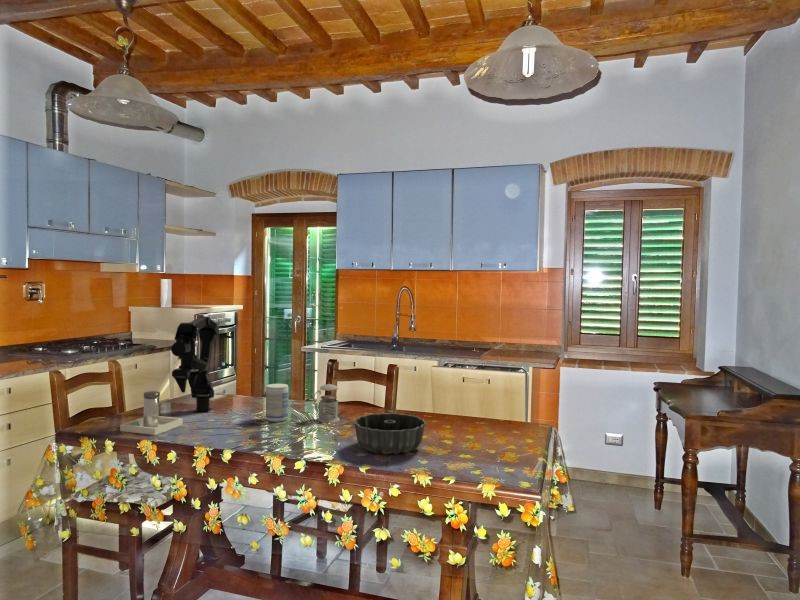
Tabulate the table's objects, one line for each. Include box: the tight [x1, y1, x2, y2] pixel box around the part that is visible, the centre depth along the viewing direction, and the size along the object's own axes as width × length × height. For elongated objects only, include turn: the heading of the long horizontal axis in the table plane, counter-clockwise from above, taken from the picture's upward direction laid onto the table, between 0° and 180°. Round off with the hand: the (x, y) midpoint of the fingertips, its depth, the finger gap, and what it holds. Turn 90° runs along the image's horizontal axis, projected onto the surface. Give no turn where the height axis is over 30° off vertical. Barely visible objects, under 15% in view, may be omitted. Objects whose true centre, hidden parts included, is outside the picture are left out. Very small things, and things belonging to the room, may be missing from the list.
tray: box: [119, 415, 184, 436], centre depth 220 cm, size 16×16×3 cm
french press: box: [312, 361, 341, 423], centre depth 241 cm, size 10×12×25 cm
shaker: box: [142, 390, 161, 428], centre depth 219 cm, size 6×6×14 cm
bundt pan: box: [353, 412, 427, 455], centre depth 203 cm, size 26×26×10 cm
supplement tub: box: [265, 383, 289, 423], centre depth 239 cm, size 10×10×15 cm
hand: (187, 390), depth 233 cm, fingers open, 9 cm apart
